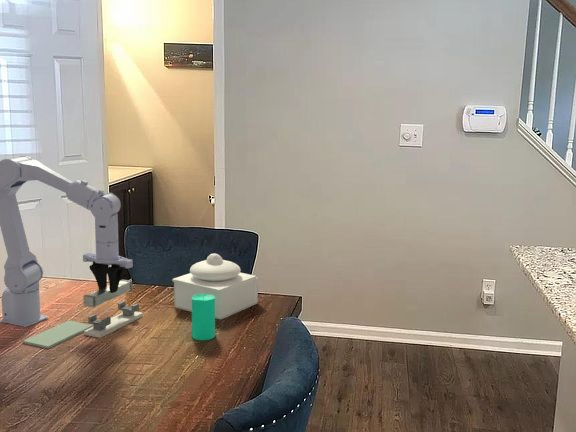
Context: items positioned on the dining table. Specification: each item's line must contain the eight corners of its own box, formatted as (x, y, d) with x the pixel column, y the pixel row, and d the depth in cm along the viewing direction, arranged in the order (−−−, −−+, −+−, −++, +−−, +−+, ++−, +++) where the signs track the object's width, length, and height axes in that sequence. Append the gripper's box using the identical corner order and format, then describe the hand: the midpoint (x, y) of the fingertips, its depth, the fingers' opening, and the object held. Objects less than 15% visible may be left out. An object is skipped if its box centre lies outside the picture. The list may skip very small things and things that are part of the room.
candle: (210, 341, 160) (210, 295, 158) (188, 338, 161) (188, 293, 159) (218, 332, 166) (218, 288, 163) (196, 330, 167) (196, 286, 164)
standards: (83, 334, 162) (83, 319, 161) (127, 313, 178) (127, 299, 178) (100, 338, 160) (99, 322, 159) (143, 316, 176) (142, 301, 176)
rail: (83, 305, 160) (83, 295, 160) (123, 288, 175) (122, 279, 174) (93, 307, 159) (92, 297, 159) (132, 289, 174) (132, 280, 173)
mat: (22, 343, 156) (22, 340, 156) (68, 322, 170) (68, 320, 170) (48, 348, 153) (48, 346, 153) (92, 327, 167) (92, 325, 167)
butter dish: (257, 304, 190) (258, 252, 187) (219, 320, 175) (219, 265, 172) (212, 293, 199) (212, 243, 196) (172, 308, 184) (171, 255, 181)
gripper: (74, 240, 163) (75, 291, 166) (120, 247, 158) (121, 299, 160) (92, 235, 170) (93, 284, 172) (137, 241, 164) (138, 291, 167)
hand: (108, 290), depth 167 cm, fingers closed on rail, 3 cm apart
